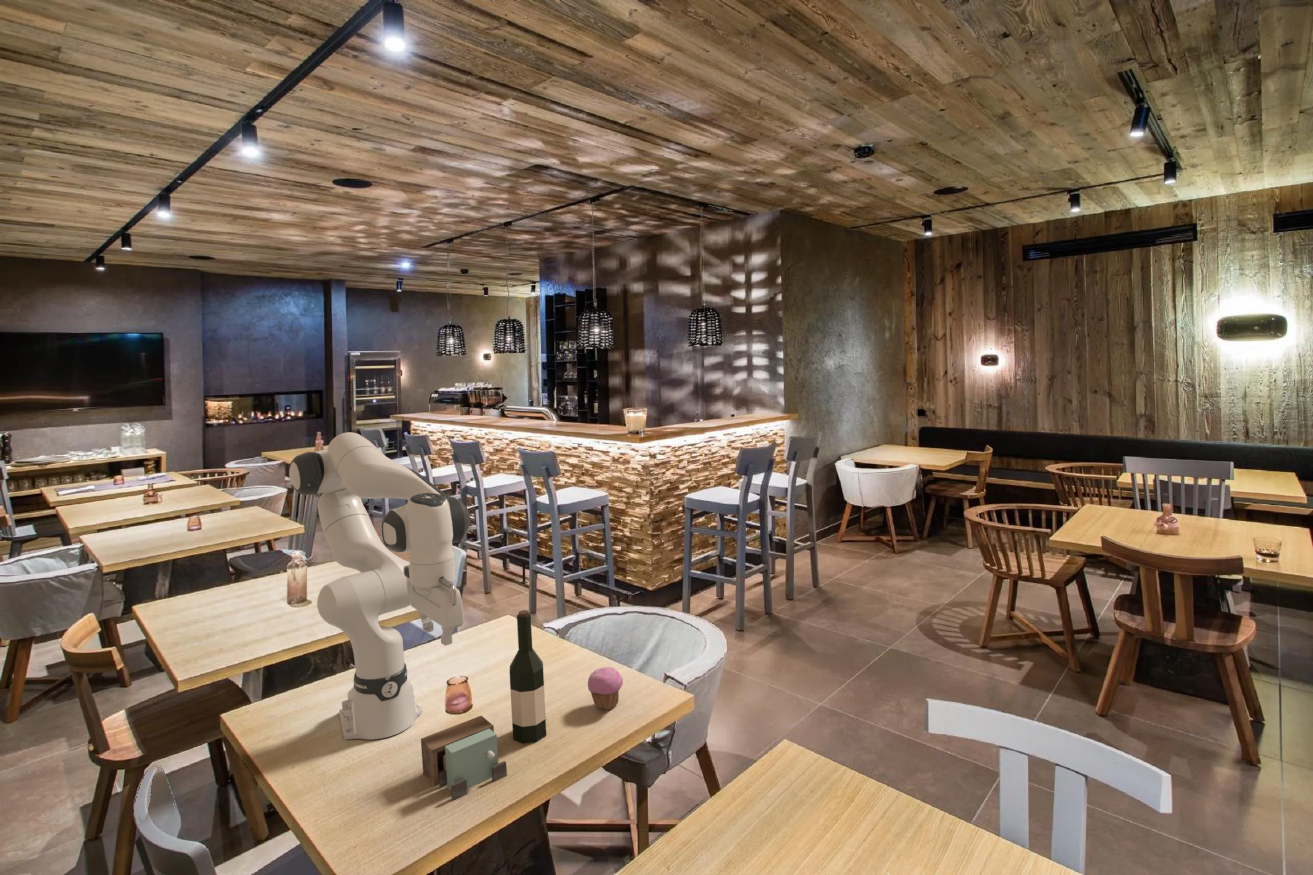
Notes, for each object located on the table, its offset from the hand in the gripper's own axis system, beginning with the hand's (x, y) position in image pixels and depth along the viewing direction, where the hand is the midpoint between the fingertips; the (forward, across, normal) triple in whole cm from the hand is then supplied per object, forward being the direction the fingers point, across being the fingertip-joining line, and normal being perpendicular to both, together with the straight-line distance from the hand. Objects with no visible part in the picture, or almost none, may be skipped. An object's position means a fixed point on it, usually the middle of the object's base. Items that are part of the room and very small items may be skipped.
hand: (437, 637), depth 140 cm
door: (+31, -5, -4) cm, 32 cm away
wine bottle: (+31, +3, -22) cm, 38 cm away
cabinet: (+31, -1, -4) cm, 31 cm away
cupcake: (+31, +1, -43) cm, 53 cm away
